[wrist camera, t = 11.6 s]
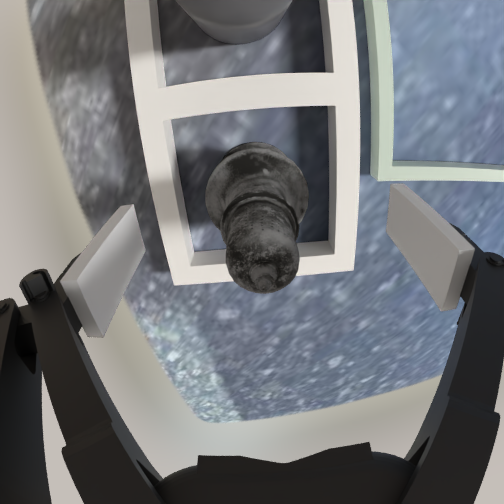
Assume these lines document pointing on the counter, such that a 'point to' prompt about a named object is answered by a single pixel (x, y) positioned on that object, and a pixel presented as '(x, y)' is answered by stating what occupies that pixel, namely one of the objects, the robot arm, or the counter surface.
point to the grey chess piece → (258, 214)
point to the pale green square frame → (384, 116)
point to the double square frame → (243, 98)
